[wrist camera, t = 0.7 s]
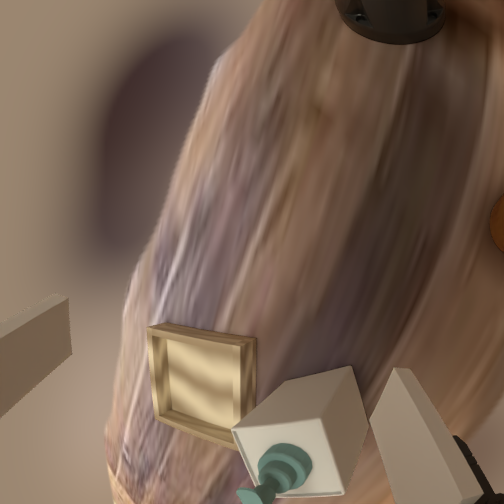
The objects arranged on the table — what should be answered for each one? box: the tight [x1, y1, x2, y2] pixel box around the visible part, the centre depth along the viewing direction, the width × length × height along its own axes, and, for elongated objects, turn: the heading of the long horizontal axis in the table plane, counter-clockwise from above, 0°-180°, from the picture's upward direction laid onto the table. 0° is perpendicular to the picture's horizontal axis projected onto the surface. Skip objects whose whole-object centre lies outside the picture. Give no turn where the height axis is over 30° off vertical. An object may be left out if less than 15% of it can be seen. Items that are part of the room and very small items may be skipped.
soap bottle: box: [231, 366, 369, 504], centre depth 25 cm, size 9×9×19 cm
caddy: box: [147, 323, 256, 451], centre depth 39 cm, size 15×15×4 cm
